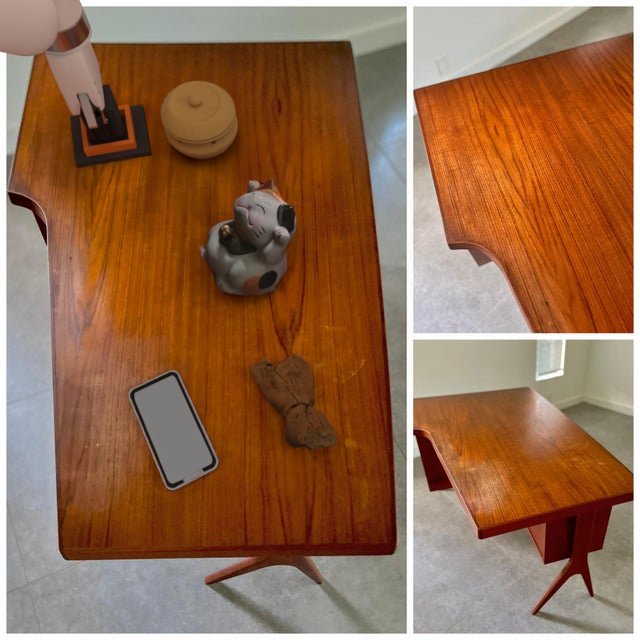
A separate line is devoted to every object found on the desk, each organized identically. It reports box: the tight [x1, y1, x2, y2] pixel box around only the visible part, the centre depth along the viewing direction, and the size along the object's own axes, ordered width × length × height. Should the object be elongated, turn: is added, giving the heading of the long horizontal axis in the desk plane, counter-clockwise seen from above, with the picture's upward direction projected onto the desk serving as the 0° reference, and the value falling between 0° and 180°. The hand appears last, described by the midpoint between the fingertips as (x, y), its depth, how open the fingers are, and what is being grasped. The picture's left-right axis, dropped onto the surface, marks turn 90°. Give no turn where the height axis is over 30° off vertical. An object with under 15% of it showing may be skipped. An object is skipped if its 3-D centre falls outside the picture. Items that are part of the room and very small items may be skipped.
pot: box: [160, 80, 239, 160], centre depth 85 cm, size 12×12×10 cm
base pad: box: [69, 104, 153, 169], centre depth 88 cm, size 12×10×2 cm
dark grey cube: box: [80, 83, 124, 140], centre depth 84 cm, size 5×5×6 cm
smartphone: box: [128, 369, 220, 491], centre depth 71 cm, size 7×1×15 cm
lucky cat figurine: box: [199, 178, 297, 296], centre depth 76 cm, size 15×12×14 cm
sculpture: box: [248, 353, 338, 451], centre depth 69 cm, size 8×10×15 cm
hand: (104, 123), depth 86 cm, fingers closed on dark grey cube, 5 cm apart
